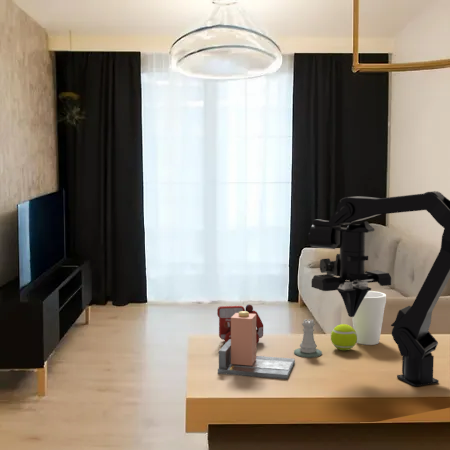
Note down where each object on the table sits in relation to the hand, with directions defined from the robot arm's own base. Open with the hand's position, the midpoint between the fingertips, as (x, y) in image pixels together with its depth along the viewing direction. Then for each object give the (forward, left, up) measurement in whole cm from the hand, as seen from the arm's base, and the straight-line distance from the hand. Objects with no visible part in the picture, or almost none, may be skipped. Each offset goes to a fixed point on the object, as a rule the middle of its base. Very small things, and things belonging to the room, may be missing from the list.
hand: (351, 316), depth 144 cm
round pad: (+13, +4, -12) cm, 18 cm away
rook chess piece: (+13, +4, -12) cm, 18 cm away
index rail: (+8, +21, -12) cm, 25 cm away
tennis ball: (+12, -6, -12) cm, 18 cm away
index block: (+10, +23, -11) cm, 27 cm away
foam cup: (+16, -16, -12) cm, 26 cm away
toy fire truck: (+28, +16, -12) cm, 35 cm away
